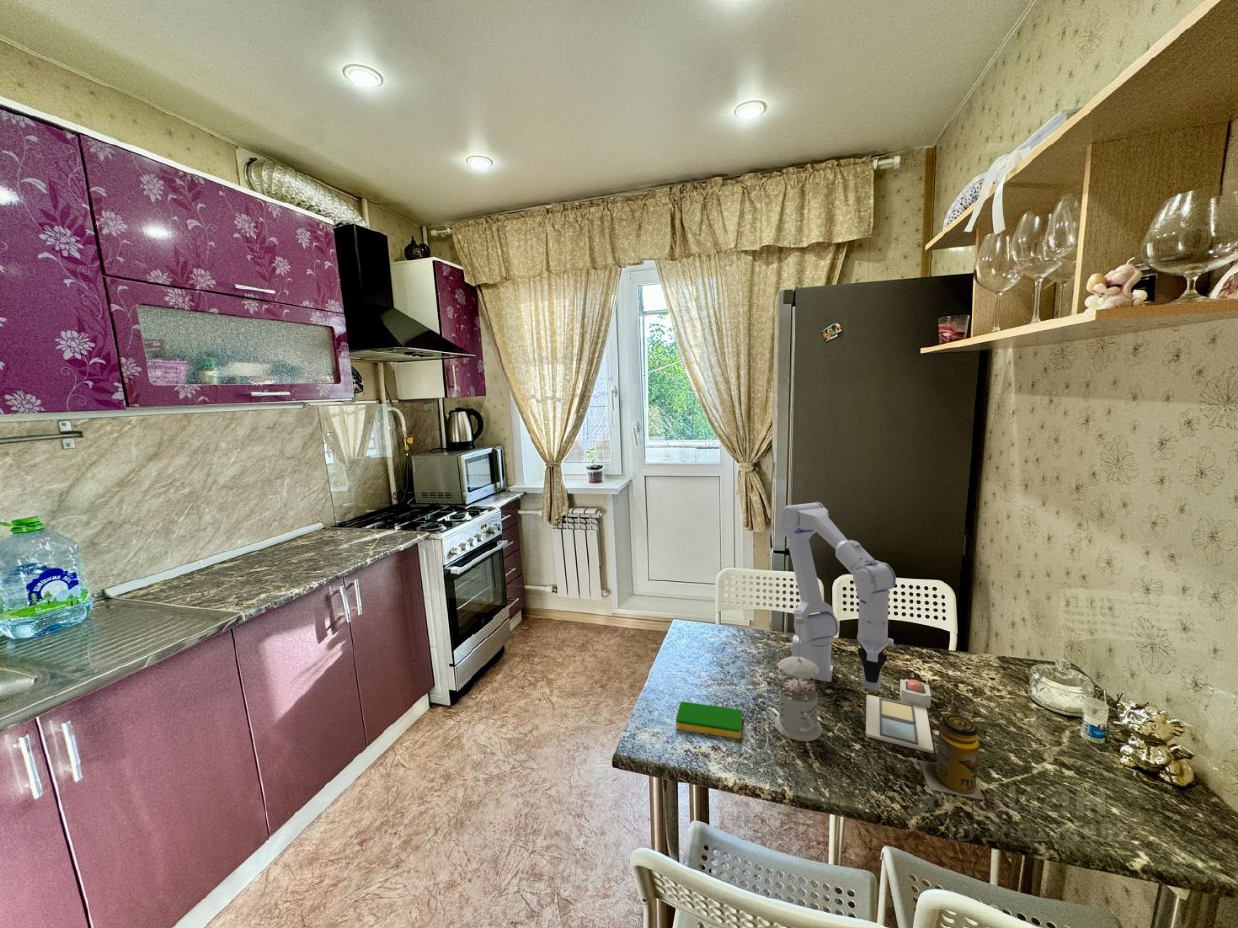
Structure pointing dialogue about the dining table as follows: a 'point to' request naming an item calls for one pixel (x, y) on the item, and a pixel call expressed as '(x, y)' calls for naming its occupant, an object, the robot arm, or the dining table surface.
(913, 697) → the button housing
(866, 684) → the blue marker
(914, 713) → the sheet
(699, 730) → the dish sponge
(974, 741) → the condiment
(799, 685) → the french press
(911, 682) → the button
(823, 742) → the dining table surface
